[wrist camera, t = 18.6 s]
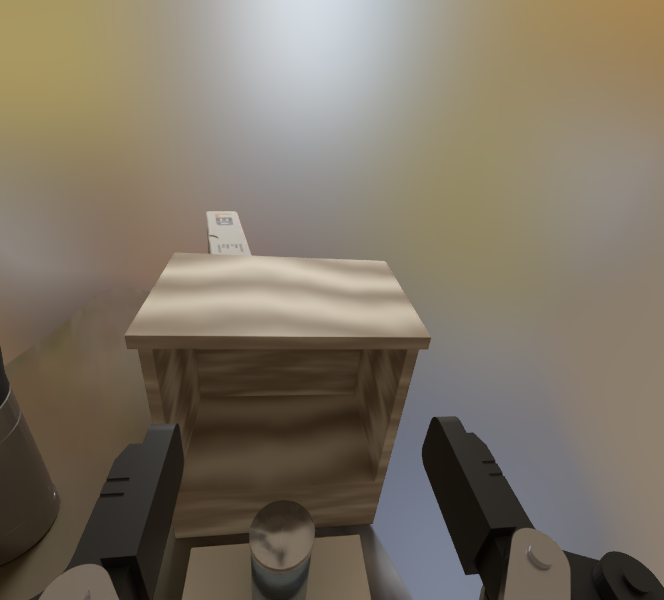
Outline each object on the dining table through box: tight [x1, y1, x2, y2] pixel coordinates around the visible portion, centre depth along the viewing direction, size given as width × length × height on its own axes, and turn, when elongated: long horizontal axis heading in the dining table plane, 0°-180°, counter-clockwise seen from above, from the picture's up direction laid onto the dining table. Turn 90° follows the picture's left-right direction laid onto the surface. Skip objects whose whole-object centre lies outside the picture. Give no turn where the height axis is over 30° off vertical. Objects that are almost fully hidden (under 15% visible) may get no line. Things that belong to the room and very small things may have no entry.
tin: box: [249, 500, 315, 600], centre depth 32 cm, size 5×5×12 cm
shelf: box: [124, 253, 431, 538], centre depth 41 cm, size 15×23×27 cm, turn 97°
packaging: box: [206, 211, 251, 256], centre depth 69 cm, size 30×6×20 cm, turn 18°
